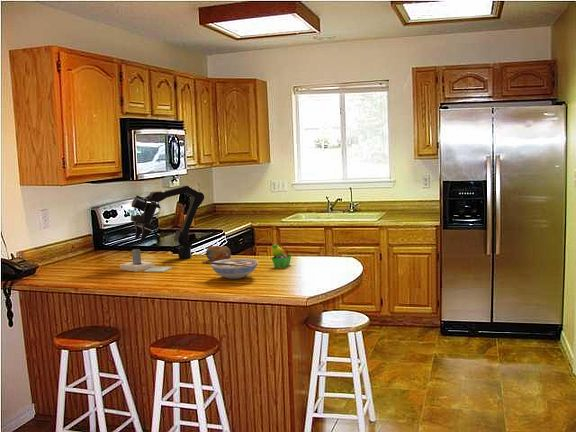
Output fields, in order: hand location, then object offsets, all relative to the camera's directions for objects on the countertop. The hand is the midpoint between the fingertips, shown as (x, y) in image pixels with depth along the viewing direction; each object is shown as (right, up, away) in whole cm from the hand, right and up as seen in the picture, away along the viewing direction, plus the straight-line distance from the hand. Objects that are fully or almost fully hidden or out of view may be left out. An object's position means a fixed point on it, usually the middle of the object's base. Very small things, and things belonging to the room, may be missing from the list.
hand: (138, 239), depth 343 cm
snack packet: (+44, -12, +1) cm, 46 cm away
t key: (+2, -15, -11) cm, 19 cm away
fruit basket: (+78, -13, -20) cm, 82 cm away
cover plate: (+2, -15, -11) cm, 18 cm away
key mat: (+15, -15, -17) cm, 27 cm away
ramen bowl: (+57, -17, -45) cm, 74 cm away
